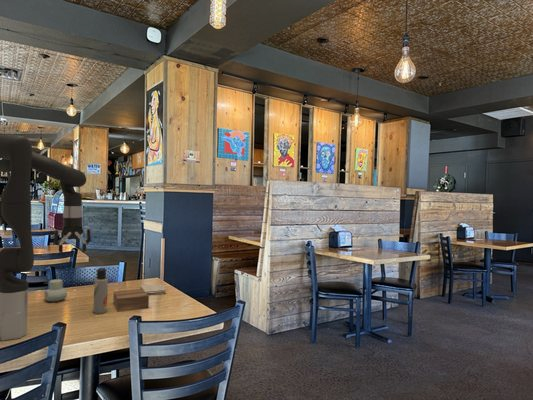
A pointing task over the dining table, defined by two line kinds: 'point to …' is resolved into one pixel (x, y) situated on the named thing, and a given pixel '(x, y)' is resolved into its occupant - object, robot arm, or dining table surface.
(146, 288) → the washcloth
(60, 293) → the air freshener
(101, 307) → the lotion bottle
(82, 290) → the dining table surface
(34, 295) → the dining table surface
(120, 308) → the block
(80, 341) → the dining table surface
